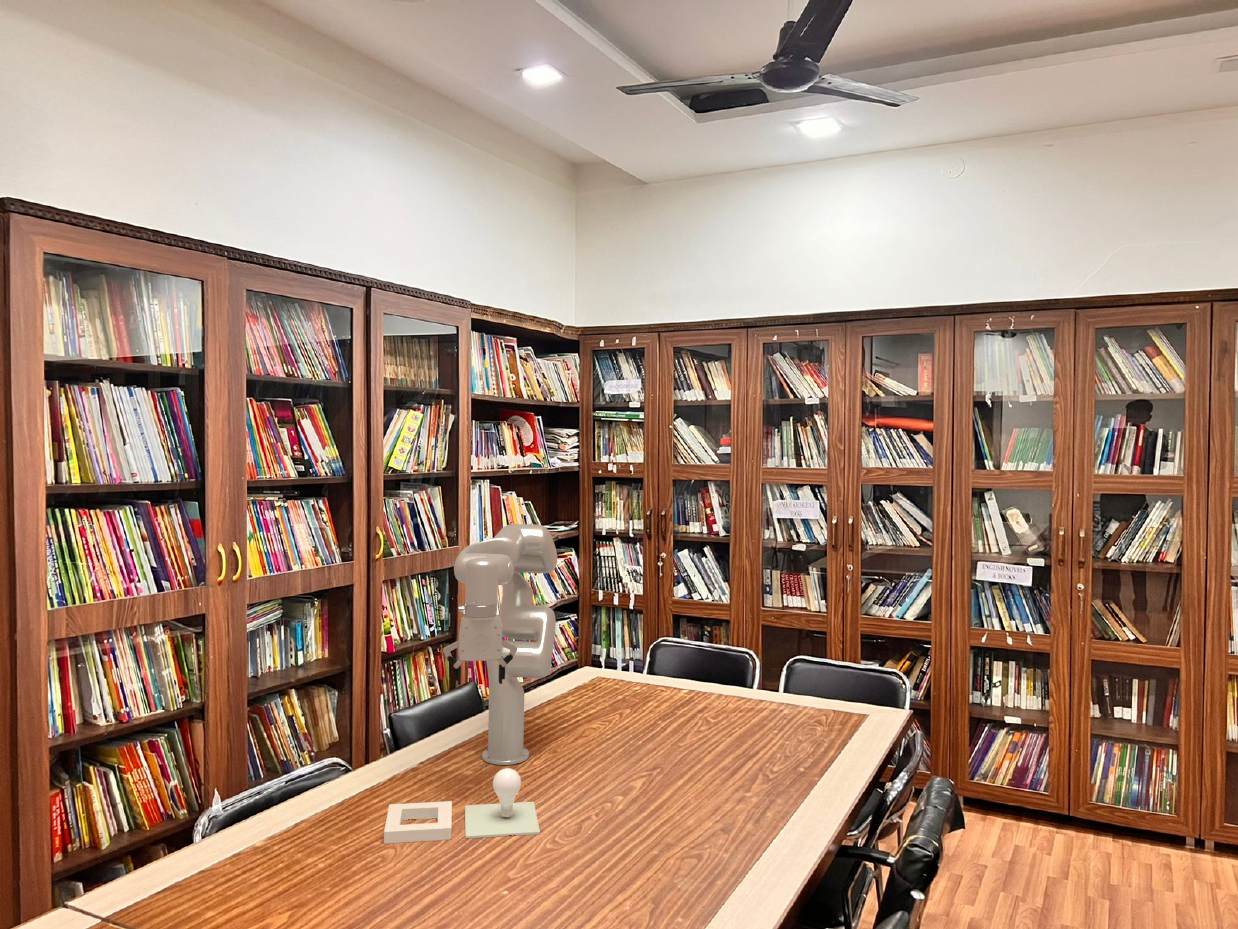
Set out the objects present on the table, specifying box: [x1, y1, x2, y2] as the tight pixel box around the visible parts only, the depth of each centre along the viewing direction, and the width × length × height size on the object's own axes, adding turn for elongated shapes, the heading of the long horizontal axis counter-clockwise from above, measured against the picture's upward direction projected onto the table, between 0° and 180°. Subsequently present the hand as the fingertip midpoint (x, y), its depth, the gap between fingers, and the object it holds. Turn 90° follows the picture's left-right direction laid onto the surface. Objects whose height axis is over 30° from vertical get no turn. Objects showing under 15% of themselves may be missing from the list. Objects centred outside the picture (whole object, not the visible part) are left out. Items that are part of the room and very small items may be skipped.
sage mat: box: [464, 801, 541, 839], centre depth 195 cm, size 16×16×1 cm
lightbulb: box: [492, 767, 522, 818], centre depth 195 cm, size 6×6×11 cm
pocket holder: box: [383, 800, 453, 845], centre depth 191 cm, size 14×14×2 cm
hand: (479, 683), depth 204 cm, fingers open, 9 cm apart
